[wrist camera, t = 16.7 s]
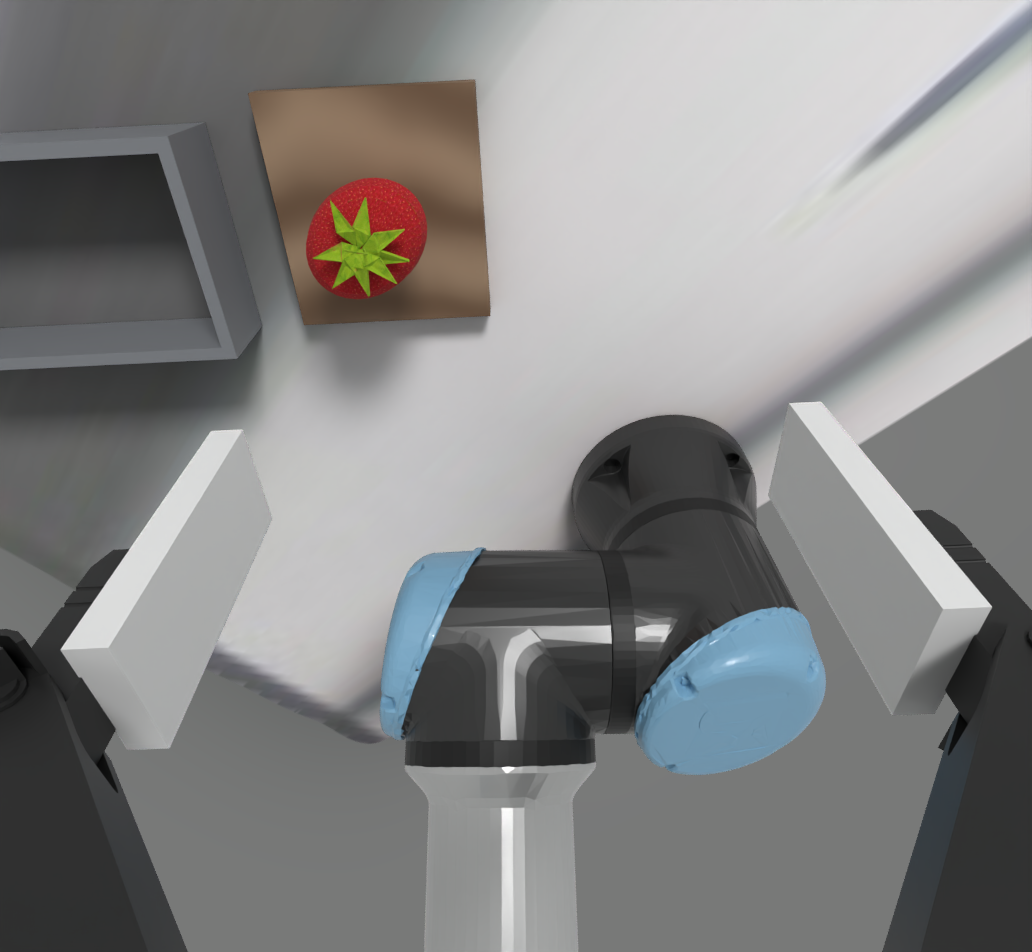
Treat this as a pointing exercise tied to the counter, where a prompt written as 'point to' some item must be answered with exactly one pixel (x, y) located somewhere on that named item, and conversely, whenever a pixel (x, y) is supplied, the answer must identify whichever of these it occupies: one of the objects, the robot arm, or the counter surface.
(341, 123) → the display board
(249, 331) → the crate
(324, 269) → the strawberry
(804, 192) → the counter surface
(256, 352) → the counter surface
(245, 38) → the counter surface
